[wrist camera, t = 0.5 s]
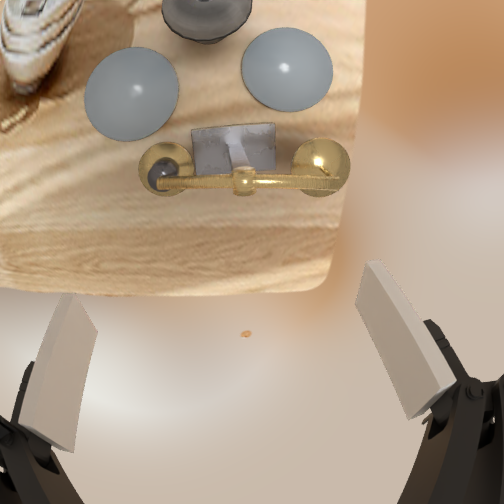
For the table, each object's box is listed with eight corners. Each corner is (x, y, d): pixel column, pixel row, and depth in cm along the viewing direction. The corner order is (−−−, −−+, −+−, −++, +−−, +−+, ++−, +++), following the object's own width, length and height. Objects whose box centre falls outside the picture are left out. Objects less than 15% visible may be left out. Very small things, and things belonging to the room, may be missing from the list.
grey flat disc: (83, 62, 24) (79, 62, 23) (175, 39, 25) (174, 38, 24) (96, 147, 31) (92, 150, 30) (183, 130, 32) (182, 132, 31)
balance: (147, 136, 32) (106, 175, 19) (316, 121, 33) (375, 152, 21) (154, 180, 35) (124, 241, 23) (315, 164, 37) (367, 215, 24)
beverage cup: (192, 64, 27) (164, 41, 11) (168, 17, 23) (119, -45, 7) (249, 41, 26) (294, -4, 10) (226, -6, 22) (242, -88, 6)
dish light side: (239, 29, 25) (239, 27, 24) (328, 32, 26) (331, 31, 25) (244, 112, 32) (245, 113, 31) (329, 111, 32) (332, 112, 32)
